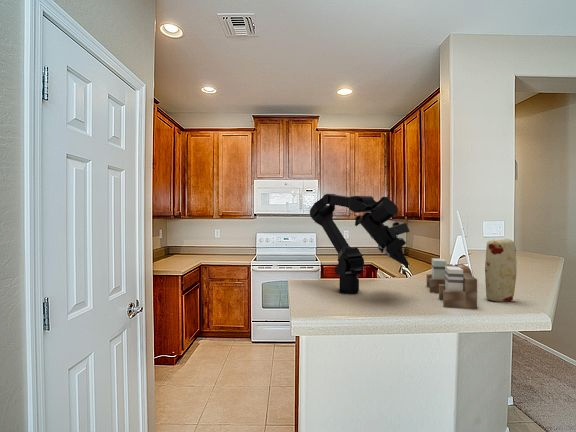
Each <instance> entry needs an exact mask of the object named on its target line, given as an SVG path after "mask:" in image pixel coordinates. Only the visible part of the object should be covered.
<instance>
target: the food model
mask: <svg viewBox="0 0 576 432" xmlns="http://www.w3.org/2000/svg"><path fill="white" fill-rule="evenodd" d="M485 250H486V251H485V262H484V264H485V265H484V273H485V274H484V276H485V278H484V281H485V294H486V296H485V297H486V300H488V301H493V302H500V303H501V302H504V303H505V302H512V301H513V300H514V296H515V290H516V281H517V273H518V272H517V268H518V267H517V249H516V244H515V241H514V240H512V239H509V238H502V239H492V240H488V241H487V242H486V248H485Z"/></svg>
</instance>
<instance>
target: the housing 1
mask: <svg viewBox="0 0 576 432" xmlns="http://www.w3.org/2000/svg"><path fill="white" fill-rule="evenodd" d="M446 266H453V267H455V266H454V265H453V264H451V263H450V264H448V263H446ZM439 284H444V285H445V279H432V273H426V288H429V293H430V294H439Z"/></svg>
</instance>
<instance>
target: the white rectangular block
mask: <svg viewBox="0 0 576 432" xmlns="http://www.w3.org/2000/svg"><path fill="white" fill-rule="evenodd" d="M453 266H454V265H453ZM453 266H445V290H449V291H463V283H464V280H463V277H464V274H463V269H461V268H460V267H453Z"/></svg>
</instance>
